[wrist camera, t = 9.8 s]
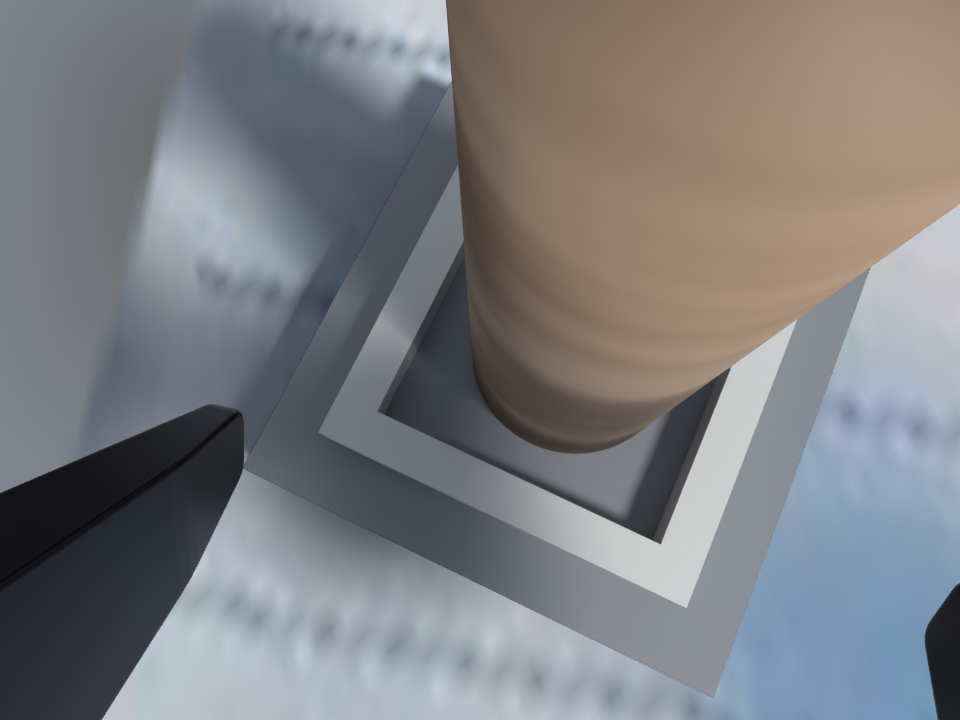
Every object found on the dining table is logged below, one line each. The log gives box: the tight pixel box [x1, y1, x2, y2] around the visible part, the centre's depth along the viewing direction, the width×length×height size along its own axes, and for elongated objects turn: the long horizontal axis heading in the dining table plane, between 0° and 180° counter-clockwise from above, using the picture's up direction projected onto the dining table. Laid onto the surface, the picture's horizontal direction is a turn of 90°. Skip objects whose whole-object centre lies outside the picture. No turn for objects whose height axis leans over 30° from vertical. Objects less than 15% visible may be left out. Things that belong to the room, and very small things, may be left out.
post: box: [446, 0, 960, 454], centre depth 12 cm, size 5×5×14 cm
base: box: [243, 82, 871, 698], centre depth 19 cm, size 12×12×3 cm
